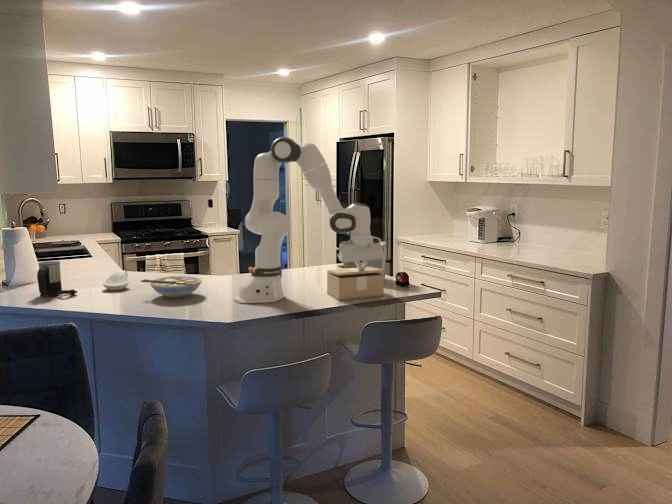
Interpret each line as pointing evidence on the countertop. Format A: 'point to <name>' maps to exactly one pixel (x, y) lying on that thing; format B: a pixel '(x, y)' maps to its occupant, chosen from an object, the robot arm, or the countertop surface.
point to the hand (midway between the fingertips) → (361, 270)
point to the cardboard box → (355, 286)
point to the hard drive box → (379, 260)
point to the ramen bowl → (175, 285)
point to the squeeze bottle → (349, 264)
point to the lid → (354, 271)
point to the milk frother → (51, 279)
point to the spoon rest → (117, 281)
